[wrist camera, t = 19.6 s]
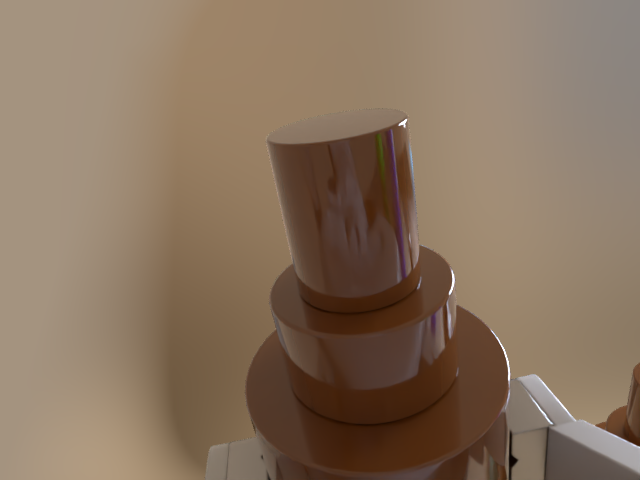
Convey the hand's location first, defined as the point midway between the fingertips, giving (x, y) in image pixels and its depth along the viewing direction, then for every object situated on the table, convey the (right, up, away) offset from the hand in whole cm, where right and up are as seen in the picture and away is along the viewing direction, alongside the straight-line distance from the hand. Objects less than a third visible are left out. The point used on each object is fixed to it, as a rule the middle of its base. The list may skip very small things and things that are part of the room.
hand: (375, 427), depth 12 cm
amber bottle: (+2, -8, +3) cm, 9 cm away
